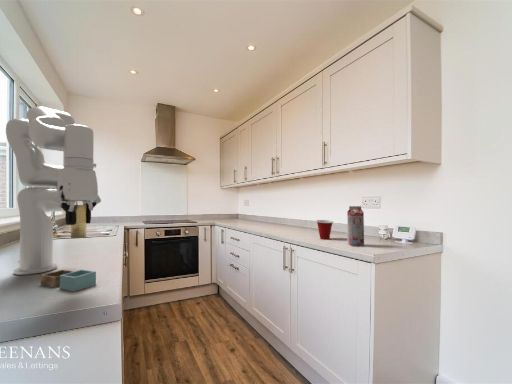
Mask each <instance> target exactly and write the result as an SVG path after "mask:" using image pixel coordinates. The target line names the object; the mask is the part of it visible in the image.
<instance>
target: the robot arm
mask: <svg viewBox="0 0 512 384" xmlns="http://www.w3.org/2000/svg"><path fill="white" fill-rule="evenodd" d="M5 134H6V140H7V142H8V144H9V147H10V148H11V150H12V152H13V154H14V156H15V162H16V167H17V174H18V178H19V182H20V183H21V184H22V185H23V186H25V188H23V189H21V190H20V191H18V194H17V195H16V196H17V197H16V200H17V206H18V211H19V260H18V264H19V267H16V268H15V269H14V270H13V275H18V276H19V275H20V276H22V275H27V276H28V275H35V274H40V273H46V272H50V271H54V270H56V269H58V267H59V266H58V264H57V263H55V262H53V261H54V260H53V258H54V257H53V256H54V251H53V249H54V245H53V244H54V223H53V220H52V219H51V218H50V217H49V216H48V215H47V213H50V212H65V220H64V221H65V224H66V226H67V225H68V226H71V225H74V224H75V211H73V209H74V205H76V204H75V203H76V202H82V205H87V213H86V224H91V220H92V211H93V210H94V208H95V207H96V206H97V205H98V204H99V203H101V202H102V199H101V197H100V196H99V190H98V189H99V188H98V179H97V173H96V171H95V170H94V169H95V168H97V163H94V140H95V139H94V135H95V134H94V131H93V129H92V128H91V127H90V126H87V125H83V124H77V123H75V118H74V117H73V115H71V114H70V113H68V112H65V111H62V110H61V111H60V110H58V109H52V108H49V107H45V106H34V107H32V106H31V107H30V108H29V109H28V110H27V112H26V118H19V117H18V118H11V119H9V120H8V121H7V122H6V125H5ZM39 148H41V149H42V150H49V151H50V150H51V151H57V152H63V165H58V164H57V165H56V164H48V163H46V161H45V156H44V153H43V152H42V151H41V150H40V149H39Z"/></svg>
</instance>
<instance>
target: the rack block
mask: <svg viewBox="0 0 512 384" xmlns="http://www.w3.org/2000/svg"><path fill="white" fill-rule="evenodd" d="M73 271H74V272H71V273H67V274H63V275H60V286H59V289H60V290H66V291H69V292H70V291H71V292H76V291H79V290H83V289H86V288H89V287H93V286H95V285H97V271H95V270H87V269H80V270H79V269H78V270H76V271H75V270H73Z"/></svg>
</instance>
